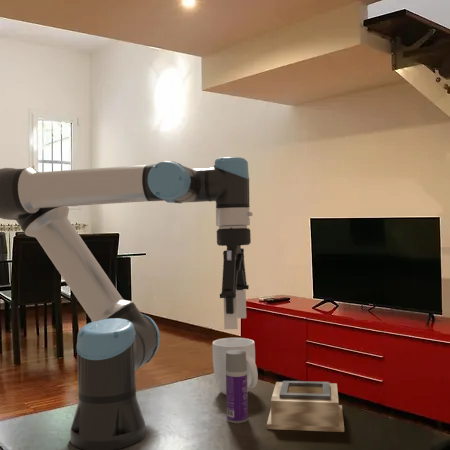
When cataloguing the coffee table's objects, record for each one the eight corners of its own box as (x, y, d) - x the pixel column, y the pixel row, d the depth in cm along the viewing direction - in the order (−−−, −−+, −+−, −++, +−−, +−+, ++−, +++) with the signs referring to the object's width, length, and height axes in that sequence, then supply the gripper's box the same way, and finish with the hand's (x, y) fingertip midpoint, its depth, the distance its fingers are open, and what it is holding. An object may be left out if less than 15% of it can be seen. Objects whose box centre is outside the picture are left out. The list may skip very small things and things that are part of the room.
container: (248, 423, 121) (246, 354, 121) (226, 423, 121) (225, 354, 121) (247, 415, 126) (246, 349, 126) (227, 416, 126) (225, 349, 126)
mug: (274, 397, 139) (272, 344, 139) (237, 406, 133) (236, 351, 133) (239, 383, 151) (238, 335, 151) (205, 391, 145) (204, 341, 145)
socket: (266, 428, 117) (266, 396, 117) (272, 407, 131) (271, 378, 131) (344, 432, 114) (343, 399, 114) (341, 409, 128) (341, 380, 128)
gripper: (242, 227, 110) (245, 334, 110) (256, 226, 135) (259, 314, 135) (205, 228, 112) (208, 334, 112) (226, 227, 136) (228, 314, 136)
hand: (236, 323), depth 123 cm, fingers open, 13 cm apart
